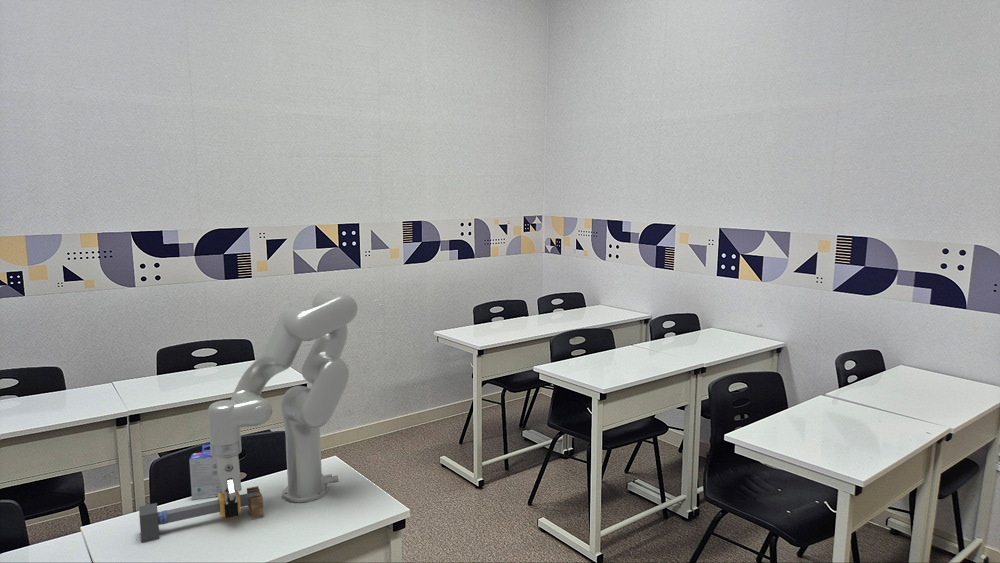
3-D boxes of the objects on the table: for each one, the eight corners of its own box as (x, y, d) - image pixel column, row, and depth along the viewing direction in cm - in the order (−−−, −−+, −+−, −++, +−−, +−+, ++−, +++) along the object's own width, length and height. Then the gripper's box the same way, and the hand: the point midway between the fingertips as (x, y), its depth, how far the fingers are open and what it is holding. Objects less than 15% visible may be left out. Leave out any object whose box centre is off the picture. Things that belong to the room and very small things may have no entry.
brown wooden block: (259, 504, 183) (258, 485, 182) (264, 517, 175) (263, 497, 175) (247, 506, 181) (246, 488, 181) (252, 519, 174) (251, 500, 173)
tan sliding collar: (238, 504, 178) (237, 489, 178) (241, 512, 174) (240, 496, 173) (218, 509, 176) (217, 493, 175) (220, 516, 172) (219, 500, 171)
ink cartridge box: (230, 487, 193) (227, 440, 192) (228, 495, 188) (225, 447, 186) (194, 492, 191) (191, 444, 189) (191, 500, 185) (188, 451, 183)
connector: (164, 527, 170) (162, 501, 169) (164, 537, 165) (162, 511, 164) (141, 532, 168) (139, 506, 167) (141, 542, 163) (139, 516, 162)
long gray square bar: (260, 500, 180) (259, 488, 180) (262, 504, 177) (261, 493, 177) (149, 523, 167) (148, 511, 167) (149, 529, 164) (148, 517, 164)
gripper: (245, 456, 167) (249, 520, 169) (236, 434, 182) (240, 494, 184) (214, 461, 163) (218, 527, 166) (207, 439, 178) (211, 500, 181)
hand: (229, 509), depth 175 cm, fingers open, 8 cm apart
